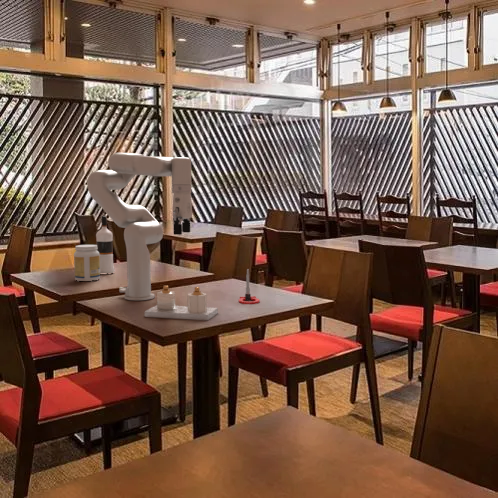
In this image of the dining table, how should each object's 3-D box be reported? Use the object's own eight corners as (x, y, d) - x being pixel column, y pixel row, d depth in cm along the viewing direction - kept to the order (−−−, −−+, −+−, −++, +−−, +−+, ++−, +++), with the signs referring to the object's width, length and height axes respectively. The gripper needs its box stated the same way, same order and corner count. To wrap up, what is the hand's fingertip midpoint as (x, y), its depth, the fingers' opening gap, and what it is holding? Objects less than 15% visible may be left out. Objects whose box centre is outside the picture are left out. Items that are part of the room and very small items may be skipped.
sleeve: (185, 311, 228) (185, 295, 227) (191, 308, 234) (191, 292, 233) (203, 312, 226) (202, 296, 225) (208, 309, 232) (208, 293, 232)
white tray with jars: (144, 316, 229) (144, 288, 227) (157, 309, 240) (156, 282, 239) (208, 320, 223) (207, 291, 222) (217, 313, 235) (217, 285, 233)
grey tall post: (261, 304, 252) (257, 299, 261) (261, 273, 250) (257, 268, 259) (240, 305, 251) (237, 299, 260) (240, 273, 249) (237, 269, 258)
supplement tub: (99, 277, 316) (98, 243, 314) (101, 281, 304) (100, 246, 302) (73, 278, 312) (72, 244, 310) (75, 282, 301) (74, 247, 299)
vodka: (100, 275, 322) (99, 216, 319) (93, 273, 330) (91, 215, 326) (117, 273, 328) (116, 216, 324) (109, 271, 335) (108, 215, 332)
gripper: (183, 190, 236) (183, 235, 238) (197, 189, 253) (198, 231, 255) (164, 189, 238) (164, 235, 240) (180, 188, 254) (180, 231, 256)
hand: (182, 233), depth 247 cm, fingers open, 9 cm apart
